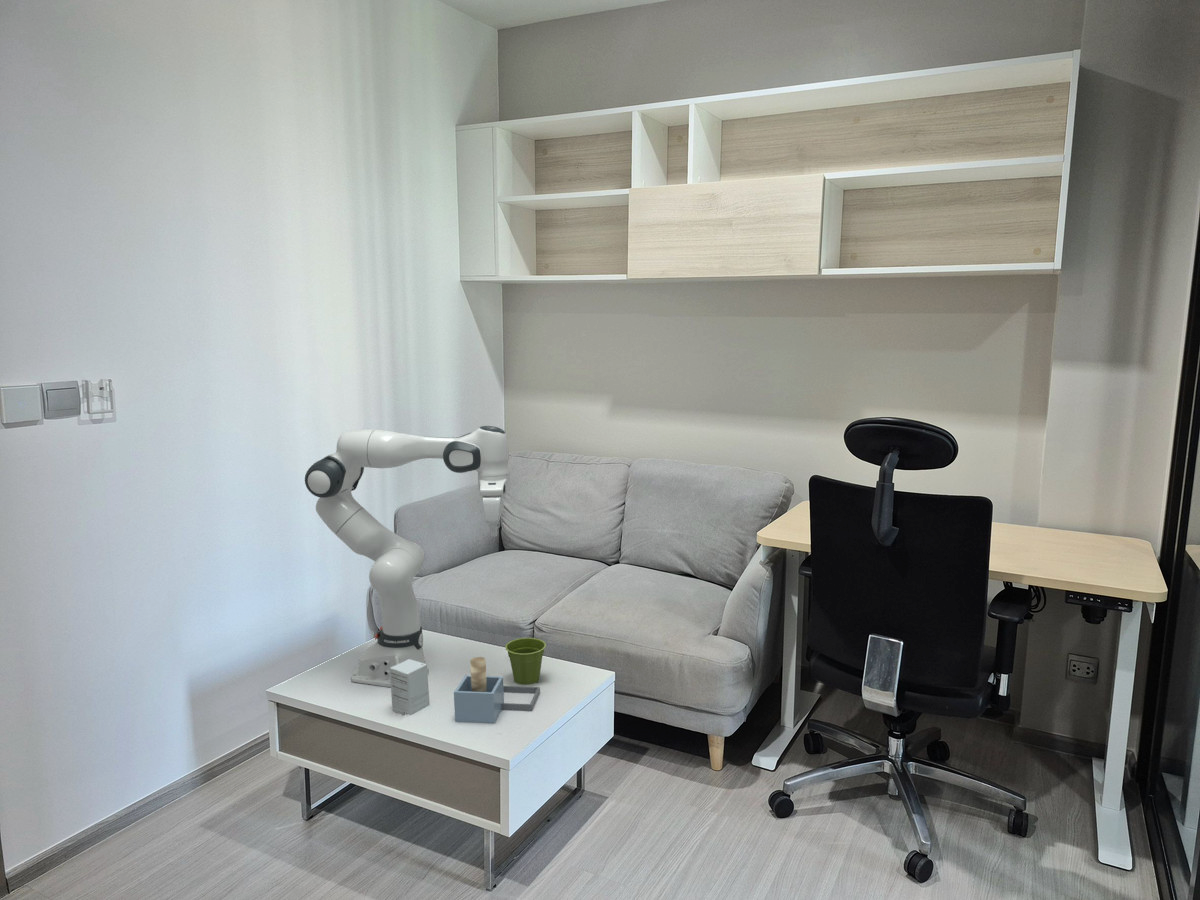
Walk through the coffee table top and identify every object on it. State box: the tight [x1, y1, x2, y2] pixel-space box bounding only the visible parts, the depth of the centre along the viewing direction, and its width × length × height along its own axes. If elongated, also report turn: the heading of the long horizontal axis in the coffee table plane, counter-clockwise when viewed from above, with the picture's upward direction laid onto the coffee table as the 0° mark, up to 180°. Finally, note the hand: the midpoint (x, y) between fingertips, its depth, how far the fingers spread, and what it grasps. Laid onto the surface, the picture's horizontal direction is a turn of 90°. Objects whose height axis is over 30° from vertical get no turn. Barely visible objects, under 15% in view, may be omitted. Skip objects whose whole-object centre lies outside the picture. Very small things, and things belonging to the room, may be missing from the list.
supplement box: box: [390, 659, 430, 716], centre depth 228 cm, size 7×7×13 cm
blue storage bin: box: [453, 674, 505, 725], centre depth 223 cm, size 11×11×9 cm
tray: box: [501, 685, 541, 712], centre depth 231 cm, size 11×11×2 cm
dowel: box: [469, 656, 487, 692], centre depth 223 cm, size 4×4×15 cm
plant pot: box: [504, 637, 547, 686], centre depth 244 cm, size 12×12×11 cm
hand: (495, 531), depth 237 cm, fingers open, 8 cm apart
